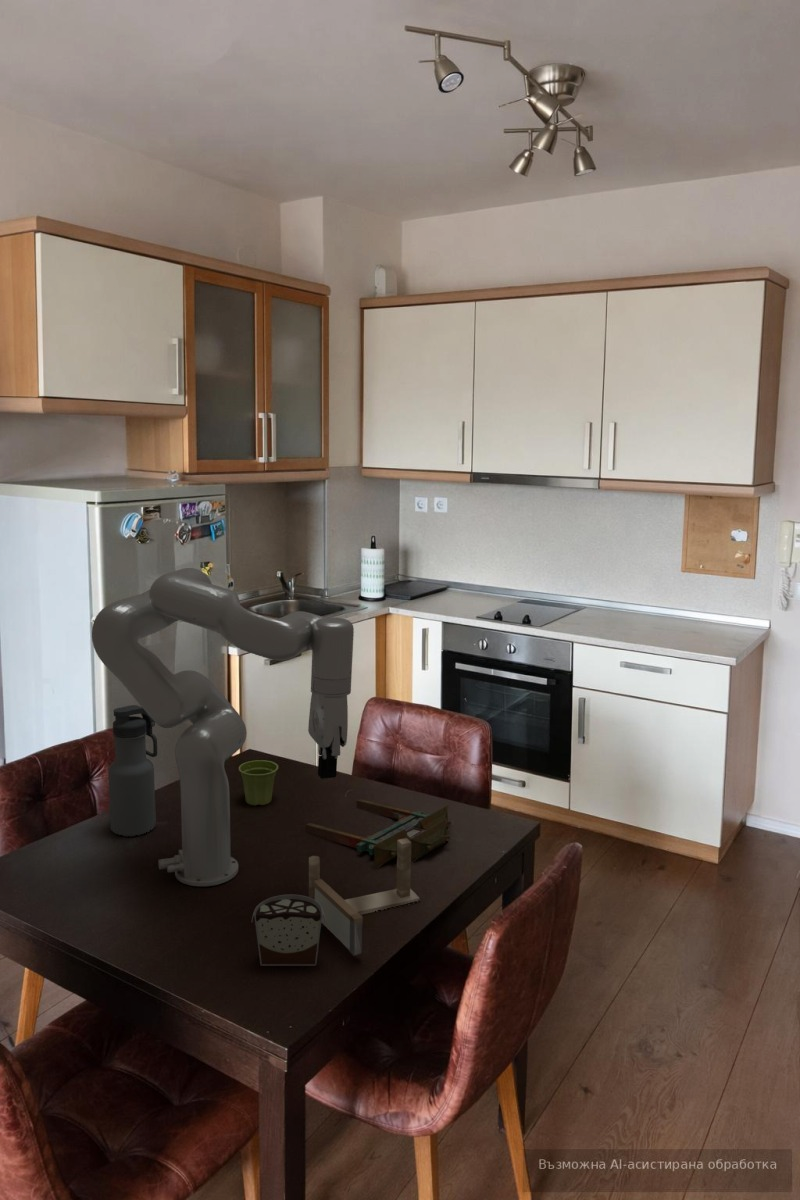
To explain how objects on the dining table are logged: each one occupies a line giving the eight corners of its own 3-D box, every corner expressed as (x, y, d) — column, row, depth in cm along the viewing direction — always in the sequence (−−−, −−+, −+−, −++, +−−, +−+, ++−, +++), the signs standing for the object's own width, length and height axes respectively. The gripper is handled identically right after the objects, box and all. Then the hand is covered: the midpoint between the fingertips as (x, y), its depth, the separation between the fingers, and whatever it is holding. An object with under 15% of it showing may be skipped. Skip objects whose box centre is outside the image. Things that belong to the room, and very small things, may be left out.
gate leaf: (313, 915, 169) (313, 880, 167) (321, 912, 170) (321, 878, 168) (354, 956, 156) (354, 919, 155) (362, 953, 157) (362, 916, 155)
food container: (326, 945, 161) (327, 892, 160) (325, 965, 155) (325, 911, 153) (256, 945, 161) (255, 892, 159) (251, 965, 155) (251, 911, 153)
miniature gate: (369, 787, 224) (474, 810, 206) (370, 809, 225) (474, 834, 207) (293, 823, 203) (401, 853, 185) (294, 847, 204) (402, 879, 186)
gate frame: (297, 928, 166) (297, 868, 164) (289, 915, 171) (289, 856, 169) (419, 901, 177) (420, 844, 175) (408, 890, 181) (409, 833, 179)
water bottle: (143, 815, 213) (139, 698, 208) (165, 828, 207) (162, 708, 202) (102, 828, 206) (97, 707, 201) (124, 842, 200) (119, 718, 194)
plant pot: (286, 799, 224) (286, 765, 223) (260, 812, 216) (260, 777, 215) (256, 790, 229) (256, 757, 227) (230, 803, 221) (230, 768, 220)
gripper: (300, 674, 178) (297, 764, 181) (323, 697, 164) (319, 793, 168) (337, 672, 180) (333, 760, 184) (363, 694, 167) (358, 789, 170)
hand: (327, 776), depth 176 cm, fingers closed
